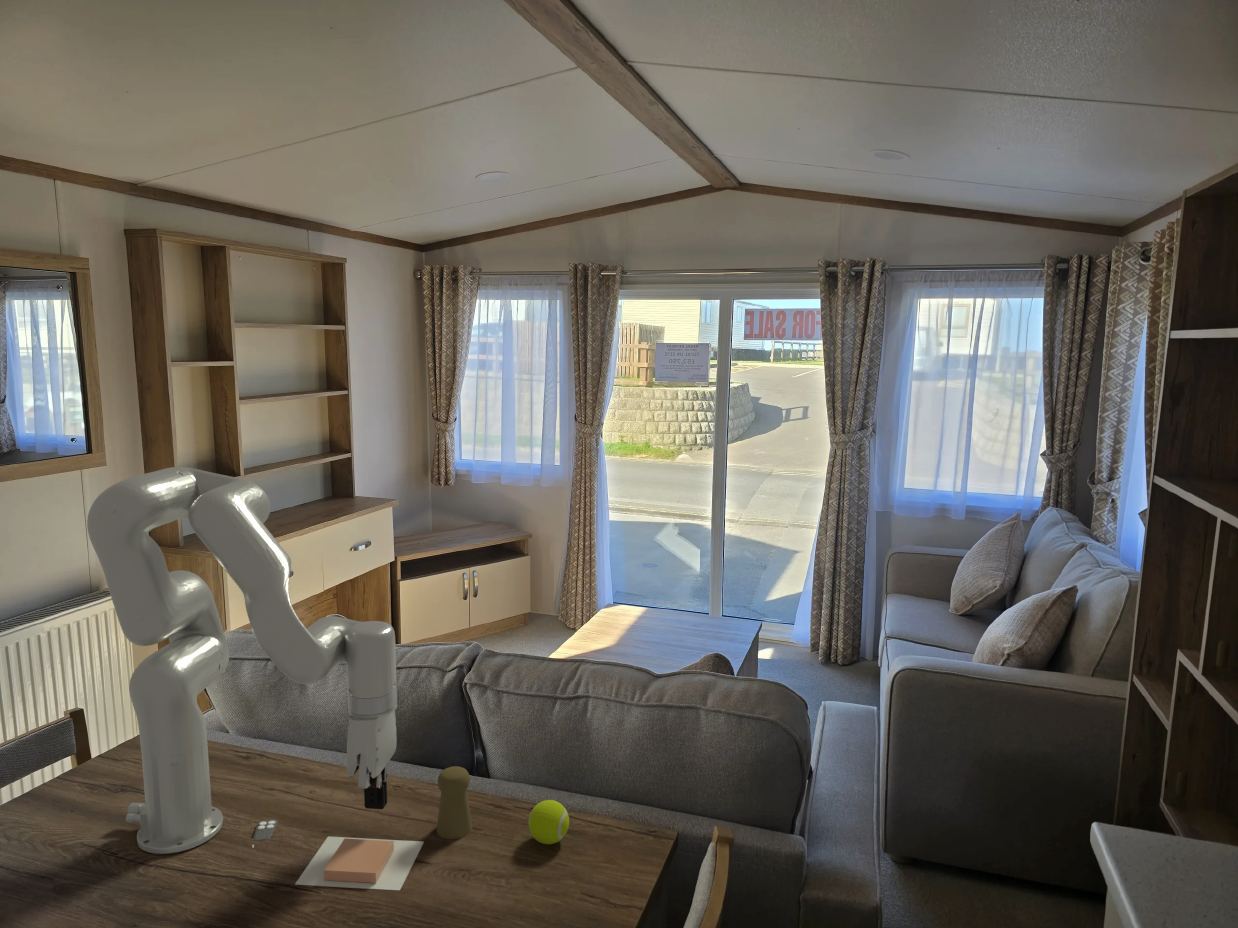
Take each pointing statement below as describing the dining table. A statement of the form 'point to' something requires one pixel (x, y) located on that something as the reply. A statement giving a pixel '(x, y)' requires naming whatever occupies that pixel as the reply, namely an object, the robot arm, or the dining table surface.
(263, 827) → the key chain
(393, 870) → the mat
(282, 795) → the dining table surface
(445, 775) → the cork
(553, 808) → the tennis ball
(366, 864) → the tile
